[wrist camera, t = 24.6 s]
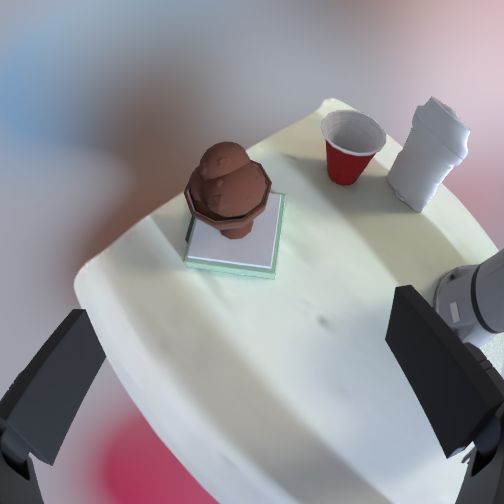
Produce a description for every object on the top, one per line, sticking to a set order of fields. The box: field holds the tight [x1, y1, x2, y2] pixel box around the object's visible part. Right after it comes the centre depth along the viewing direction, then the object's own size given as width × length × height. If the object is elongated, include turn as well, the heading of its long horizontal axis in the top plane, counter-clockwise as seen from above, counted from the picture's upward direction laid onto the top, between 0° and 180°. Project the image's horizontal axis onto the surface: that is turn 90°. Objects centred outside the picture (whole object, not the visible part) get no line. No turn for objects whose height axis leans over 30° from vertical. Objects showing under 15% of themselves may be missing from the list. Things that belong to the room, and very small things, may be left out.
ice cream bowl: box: [184, 142, 272, 240], centre depth 36 cm, size 11×11×15 cm
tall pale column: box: [387, 97, 470, 213], centre depth 37 cm, size 11×4×22 cm, turn 32°
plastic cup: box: [321, 110, 386, 186], centre depth 44 cm, size 11×11×12 cm
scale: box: [183, 192, 286, 279], centre depth 44 cm, size 15×14×3 cm
